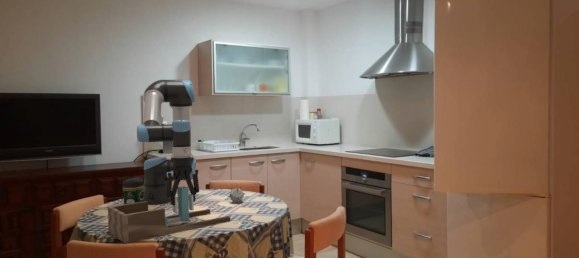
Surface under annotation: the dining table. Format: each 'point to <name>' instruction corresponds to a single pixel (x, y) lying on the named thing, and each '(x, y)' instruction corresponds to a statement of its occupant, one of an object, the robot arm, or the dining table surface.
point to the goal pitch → (149, 222)
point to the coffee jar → (133, 190)
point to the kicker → (180, 207)
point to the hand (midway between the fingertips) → (183, 211)
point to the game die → (236, 195)
